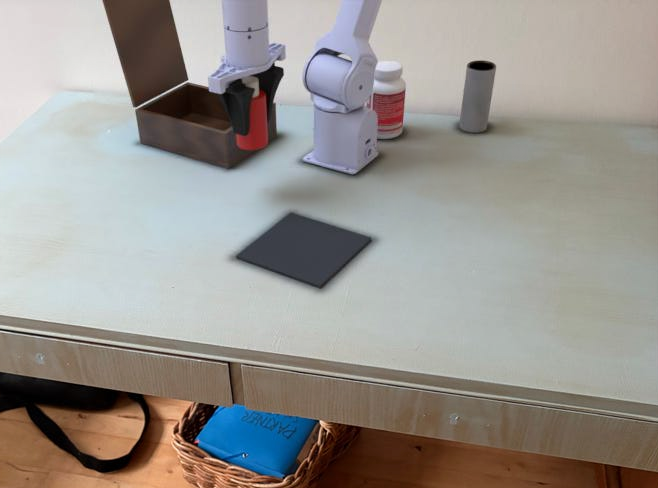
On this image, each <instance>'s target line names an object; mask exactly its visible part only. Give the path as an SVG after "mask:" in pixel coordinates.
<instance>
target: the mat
mask: <svg viewBox="0 0 658 488" xmlns="http://www.w3.org/2000/svg"><path fill="white" fill-rule="evenodd" d="M371 241H372V237H371V236H367V235H365V234H362V233H358V232H355V231H352V230H349V229H345V228H342V227H339V226H335V225H332V224H330V223H326V222H323V221H319V220H316V219H313V218H310V217H306V216H303V215H301V214H297V213H294V212H289V213H288V214H286V216H284V217H283V218H281V219H280V220H278V222H277V223H275V224H274V225H273V226H271V227H270V228H269V229H267V230H266V231H265V232H264V233H262V234H261V235H260V236H259V237H258V238H256V239H255V240H254V241H252V243H251V242H250V244H249V245H248V246H246V247H245V248H244V249H242V250H241V251H240V252H238V254H236V255H235V258H236V259H237V260H240V261H243V262H246V263H249V264H252V265H254V266H257V267H260V268H263V269H265V270H268V271H270V272H274V273H277V274H278V275H282V276H285V277H288V278H290V279H292V280H296V281H299V282H301V283H304V284H307V285H309V286H312V287H316V288H318V289H321V288H322V287H323V286H324V285H325V284H326V283H328V281H330V280H331V279H332V278H333V277H334V276H335V275H336V274H337V273H338V272H339V271H340V270H341V269H342V268H343V267H344V266H345V265H347V264H348V262H350V261H351V260H352V259H353V258H354V257H355V256H356V255H357V254H358V253H359V252H360V251H362V250H363V248H365V247H366V246H367V245H368V244H369V243H370V242H371Z"/></svg>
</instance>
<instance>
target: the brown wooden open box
mask: <svg viewBox="0 0 658 488" xmlns="http://www.w3.org/2000/svg"><path fill="white" fill-rule="evenodd" d="M134 113H135V118H136V123H137V131H138V137H139V142H140V144H143V145H146V146H149V147H153V148H155V149H159V150H163V151H166V152H168V153H169V152H170V153H173V154H176V155H180V156H183V157H187V158H189V159H193V160H197V161H200V162H204V163H207V164H209V165H213V166H217V167H220V168H224V169H226V170H227V169H230V168H232V167H233V166H235V165H236V164H238V163H240V161H243V160H244V159H245V158H247V157H248V156H250V155H252V153H254V152H256V151H257V150H245V149H242V148H240V147H238V145H237V138H236V134H235V133H234V131H233V128H232V125H231V122H230V119H229V116H228V114H227V111H226V109H225V107H224V105H223V103H222V102H221V100H220V99H219V97H218V96H217V94H216V93H214V92H210V91H209V86H206V85H202V84H197V83H194V82H189V81H186V82H184V83H182V84H180V85H179V86H177V87H175V88H173V89H171V90H169V91H167V92H165V93H163V94H161V95H159V96H158V97H156V98H154V99H152V100H150V101H148V102H146V103H144V104H142V105H140V107H139V106H138V107H137V108H136V109H135V110H134ZM267 131H268V143H270V141H273V140H274V139H275V138H277V137H278V130H277V105H276V102H274V101H273V106H272V111H271V116H270V120H269V122H267Z"/></svg>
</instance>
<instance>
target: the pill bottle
mask: <svg viewBox="0 0 658 488" xmlns="http://www.w3.org/2000/svg"><path fill="white" fill-rule="evenodd" d="M402 76H403V64H402V63H401V62H398V61H393V60H381V61H378V62H377V65H376V69H375V73H374V86H373V90H372V93H371V95H370V97H369V98H368V100H367V101H366V103H365V106H366V107H367V108H369V109H372V110H374V111H375V112H376V114H377V117H378V128H377V140H378V139H380V140H388V139H393V138H396V137H399V136H400V135H401V134H402V133H403V129H404V116H405V115H404V114H405V104H406V103H405V101H406V89H407V88H406V87H407V84H406V81H405V79H403V78H402Z"/></svg>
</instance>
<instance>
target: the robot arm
mask: <svg viewBox="0 0 658 488" xmlns="http://www.w3.org/2000/svg"><path fill="white" fill-rule="evenodd" d="M382 2H383V0H341V3H340V6H339V9H338V12H337V15H336V19H335V22H334V25H333V29H331V30H330V31H329V32H327V33H326V34H324V35H323V36H321V37H320V38H318V39H317V40H316V42H315V46H314V48H313V51H312V53H311V54H310V55H309V57H308V58H307V60H306V61H305V64H304V67H303V70H302V84H303V87H304V88H305V89H306V91H307V92H308V93H310V101H312V102H313V149H312V150H311V151H310V152H309V153H307V154H306V155H305V156H303V157H302V161H303V162H305V163H309V164H312V165H316V166H319V167H324V168H326V169H330V170H334V171H338V172H341V173H345V174H349V175H356V174H357V173H358V172H360V171H361V170H362V169H363V168H364V167H366V166H367V165H368V164H369V163H371V162H372V161H373V160H374V159H376V158H377V157H378V156H379V152H378V151H377V147H378V146H377V145H378V144H377V143H378V138H377V128H378V117H377V114H376V112H375V111H374V110H372V109H369V108H367V107H366V104H367V100H368V98H369V97H370V95H371V93H372V90H373V86H374V73H375V69H376V65H377V62H379V60H378V57H377V55H376V53H375V52H374V50H373V47H371V44H370V42H369V41H370V37H371V35H372V32H373V29H374V26H375V23H376V20H377V17H378V14H379V11H380V9H381V5H382ZM221 8H222V22H223V23H222V24H223V35H224V46H225V47H224V48H225V54H224V55H222V56H221V57H220V62H221V64H220V65H219V67H217V69H216V70H215V71H214V72H213V73H211V74H209V75H208V76H207V83H208V84H207V85H208V87H209V91H210V92H214V93H216V94H217V96H218V97H219V99H220V100H221V102H222V103H223V105H224V107H225V109H226V111H227V114H228V116H229V119H230V122H231V125H232V128H233V131H234V133H235V134H239V135H242V136H247V135H248V134H249V128H250V106H251V101H252V97H253V94H254V91H255V89H254V88H251V87H246V86H245V83H243V84H242V79H244V78H246V77H248V76H253V77H256V78H258V80H259V89H260V90H262V91H264V92H265V93H266V109H267V122H269V120H270V116H271V111H272V106H273V102H274V101H275V96H276V93H277V90H278V88H279V85H280V83H281V81H282V79H283V78H284V75H285V71H284V68H283V67H282V66H277V65H276V63H275V62H278V61H279V62H282V61H284V60H286V57H287V56H286V54H287V53H286V44H283V43H278V42H272V43H270V34H269V33H270V29H269V28H270V27H269V9H268V0H221ZM341 55H345V56H348V57H349V58H350V59H347V58H344V57H341Z"/></svg>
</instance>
